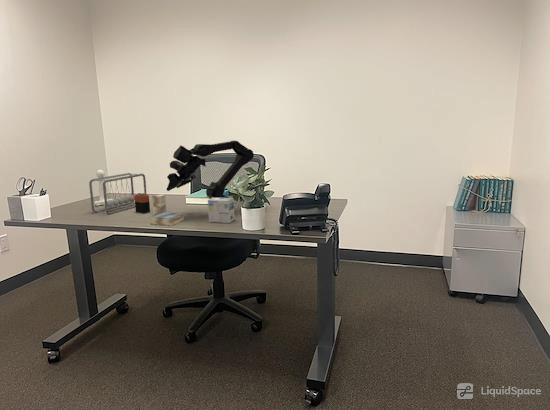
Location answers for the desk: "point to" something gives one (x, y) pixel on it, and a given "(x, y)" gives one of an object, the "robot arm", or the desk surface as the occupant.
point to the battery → (142, 203)
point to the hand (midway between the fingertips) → (172, 188)
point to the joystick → (101, 189)
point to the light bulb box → (221, 210)
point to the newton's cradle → (115, 201)
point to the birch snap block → (159, 204)
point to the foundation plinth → (167, 219)
